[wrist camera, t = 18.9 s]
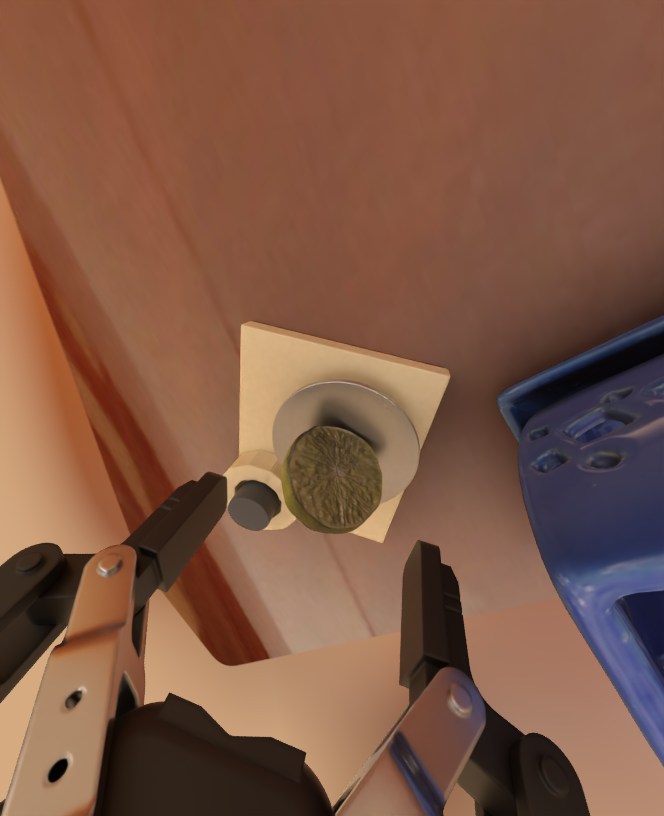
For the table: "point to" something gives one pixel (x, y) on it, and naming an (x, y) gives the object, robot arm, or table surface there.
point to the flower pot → (603, 503)
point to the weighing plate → (354, 426)
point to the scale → (307, 363)
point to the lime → (331, 480)
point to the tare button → (253, 505)
